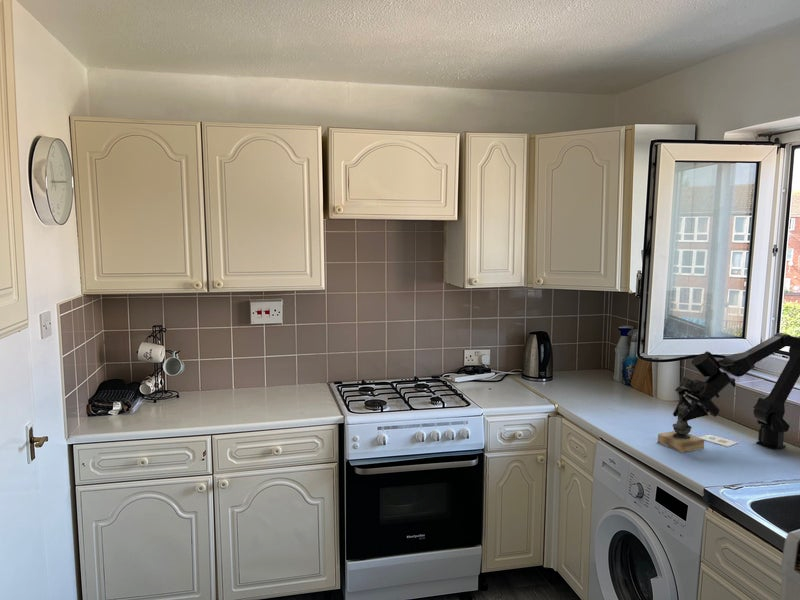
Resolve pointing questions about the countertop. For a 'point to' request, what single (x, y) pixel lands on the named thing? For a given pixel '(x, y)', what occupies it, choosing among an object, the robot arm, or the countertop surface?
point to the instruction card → (718, 440)
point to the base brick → (681, 442)
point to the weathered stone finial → (682, 424)
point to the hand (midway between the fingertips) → (678, 418)
